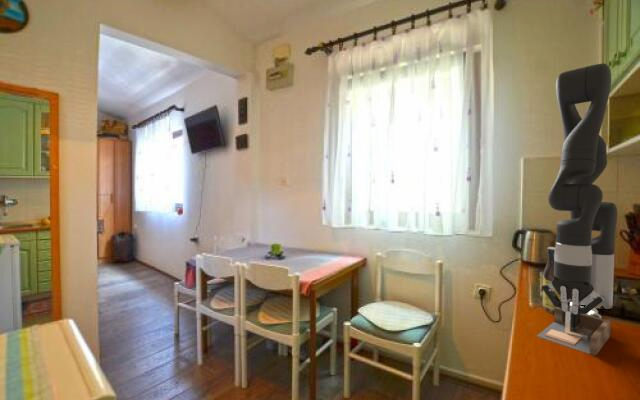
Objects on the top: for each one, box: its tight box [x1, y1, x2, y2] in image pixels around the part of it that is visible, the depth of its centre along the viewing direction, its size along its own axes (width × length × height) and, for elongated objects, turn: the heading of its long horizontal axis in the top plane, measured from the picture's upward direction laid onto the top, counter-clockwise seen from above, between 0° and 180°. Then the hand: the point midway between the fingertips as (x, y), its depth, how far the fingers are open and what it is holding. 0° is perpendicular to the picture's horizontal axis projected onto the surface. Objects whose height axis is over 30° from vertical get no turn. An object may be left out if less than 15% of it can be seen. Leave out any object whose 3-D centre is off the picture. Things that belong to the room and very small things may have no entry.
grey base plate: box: [536, 321, 591, 355], centre depth 78 cm, size 14×11×1 cm
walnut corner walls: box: [553, 307, 612, 357], centre depth 77 cm, size 14×11×4 cm
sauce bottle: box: [542, 246, 561, 315], centre depth 92 cm, size 7×6×20 cm
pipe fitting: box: [570, 301, 602, 319], centre depth 88 cm, size 8×4×7 cm
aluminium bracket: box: [565, 306, 594, 341], centre depth 79 cm, size 6×4×6 cm
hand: (570, 325), depth 80 cm, fingers closed on aluminium bracket, 1 cm apart
